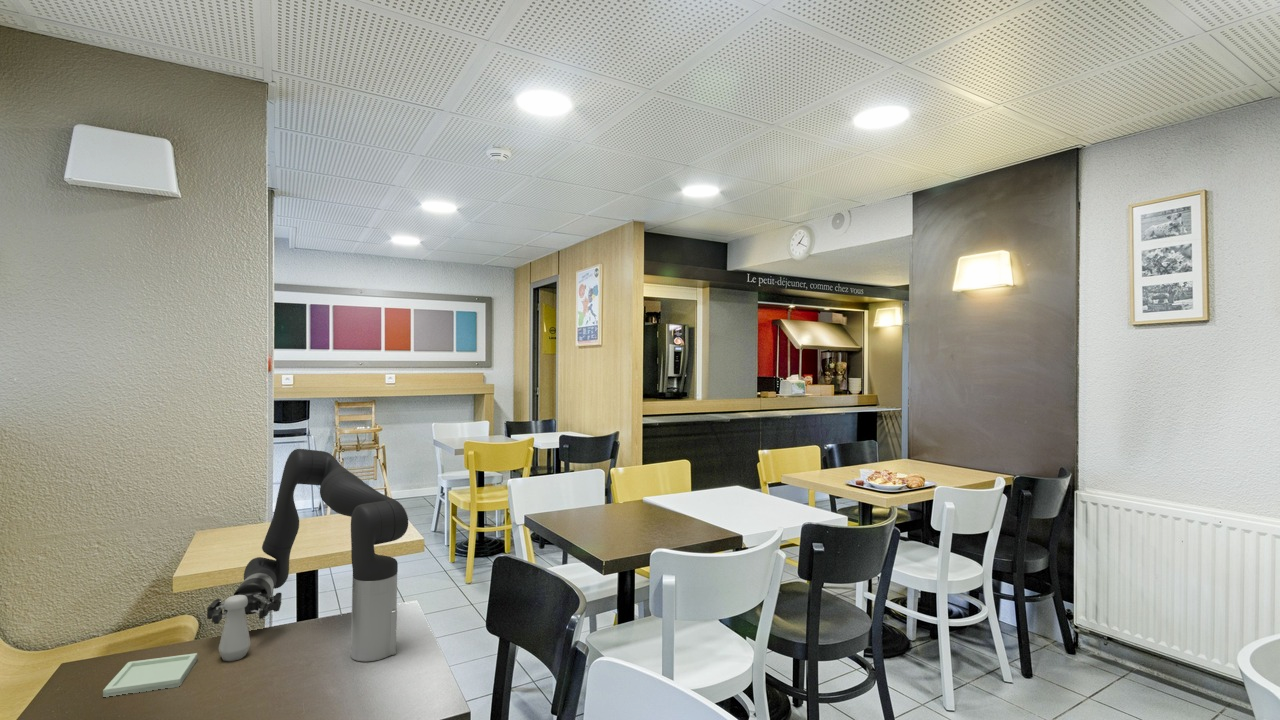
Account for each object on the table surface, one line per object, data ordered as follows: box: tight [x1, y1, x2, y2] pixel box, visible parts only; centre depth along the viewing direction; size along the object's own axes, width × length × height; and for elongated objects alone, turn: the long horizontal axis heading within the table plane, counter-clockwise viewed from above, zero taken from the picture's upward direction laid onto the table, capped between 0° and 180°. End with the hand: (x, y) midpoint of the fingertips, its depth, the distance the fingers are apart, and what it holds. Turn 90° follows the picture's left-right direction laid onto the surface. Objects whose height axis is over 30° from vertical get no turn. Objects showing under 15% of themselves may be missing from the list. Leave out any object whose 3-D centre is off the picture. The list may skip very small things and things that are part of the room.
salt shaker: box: [218, 595, 251, 662], centre depth 134 cm, size 6×6×13 cm
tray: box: [102, 652, 198, 698], centre depth 125 cm, size 12×12×2 cm
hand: (238, 617), depth 137 cm, fingers open, 8 cm apart
